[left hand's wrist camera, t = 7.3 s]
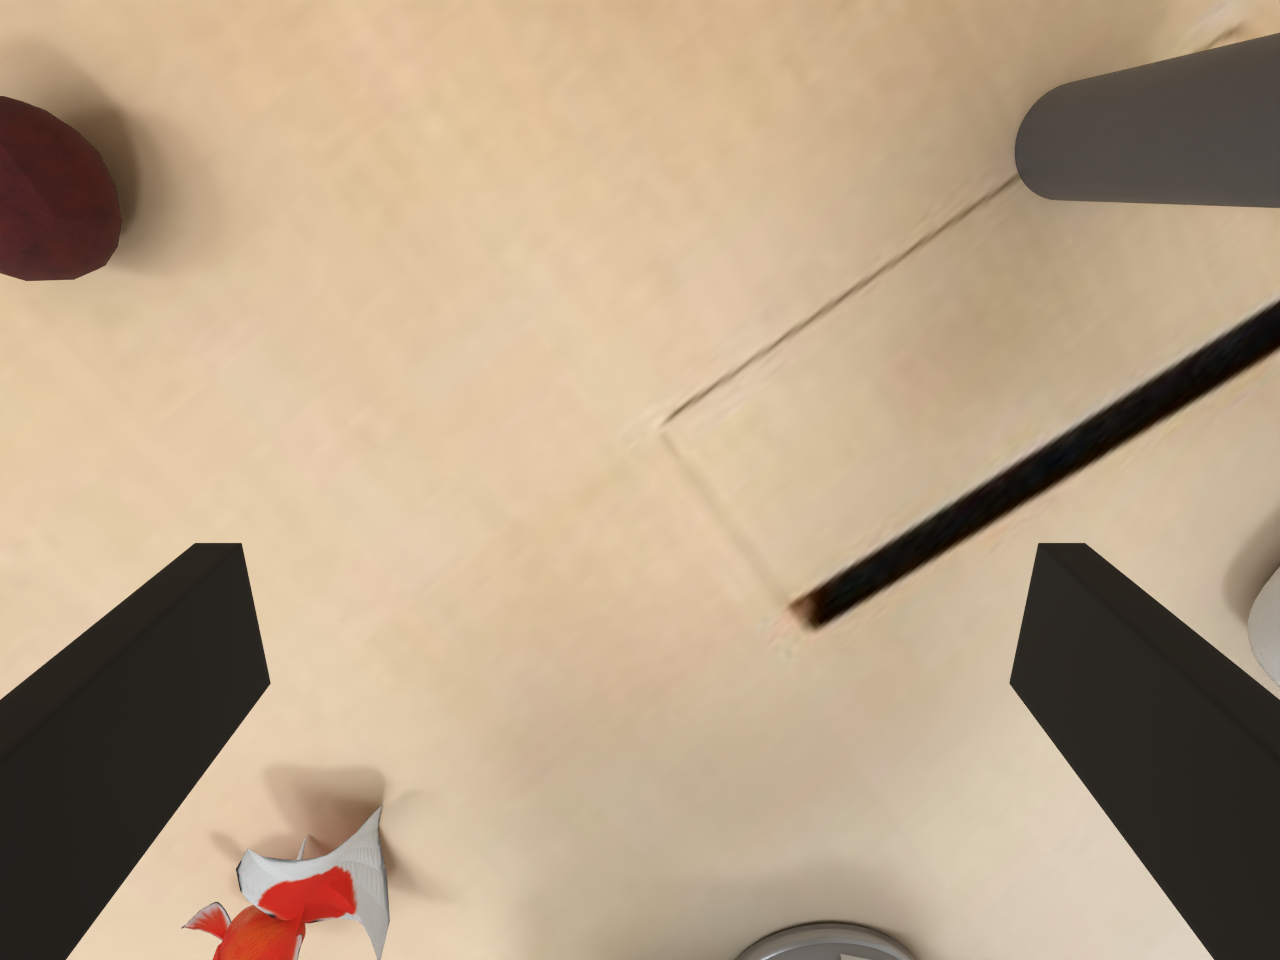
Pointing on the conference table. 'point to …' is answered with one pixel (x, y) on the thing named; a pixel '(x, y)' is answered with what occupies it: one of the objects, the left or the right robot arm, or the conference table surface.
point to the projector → (1267, 627)
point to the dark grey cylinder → (1162, 132)
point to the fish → (302, 899)
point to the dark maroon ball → (52, 198)
